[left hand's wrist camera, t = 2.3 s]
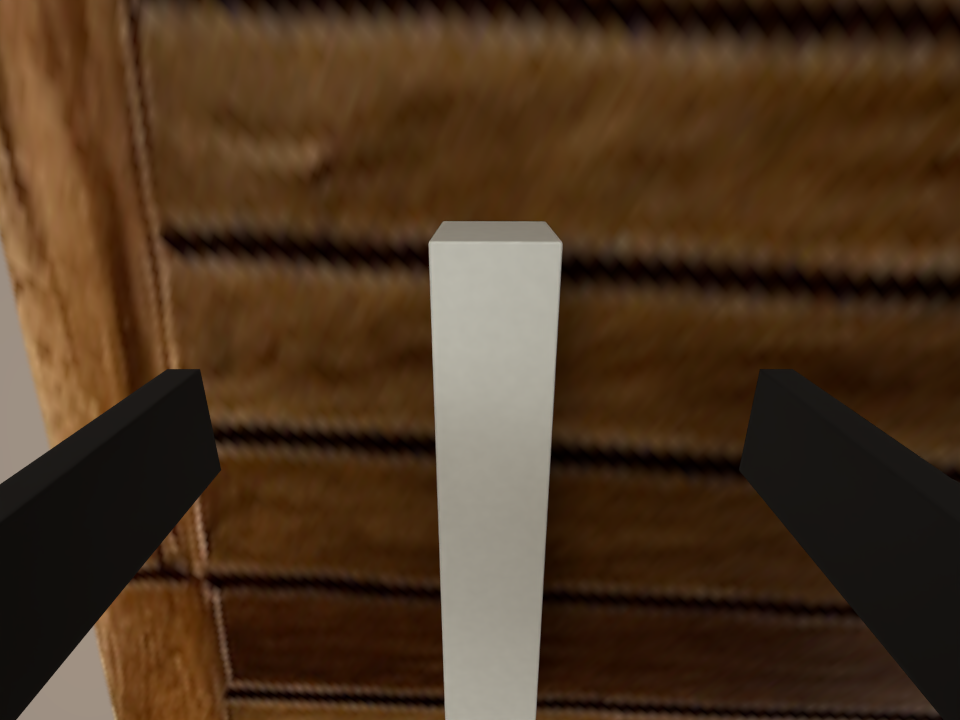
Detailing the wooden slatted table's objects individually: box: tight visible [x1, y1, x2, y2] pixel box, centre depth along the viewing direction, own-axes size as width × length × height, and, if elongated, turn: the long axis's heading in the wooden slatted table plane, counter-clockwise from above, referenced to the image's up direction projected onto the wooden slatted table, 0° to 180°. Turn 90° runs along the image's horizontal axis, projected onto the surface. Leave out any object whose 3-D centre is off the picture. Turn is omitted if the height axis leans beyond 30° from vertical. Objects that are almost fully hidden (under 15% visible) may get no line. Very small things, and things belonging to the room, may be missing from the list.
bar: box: [429, 221, 563, 720], centre depth 22 cm, size 4×24×5 cm, turn 0°
